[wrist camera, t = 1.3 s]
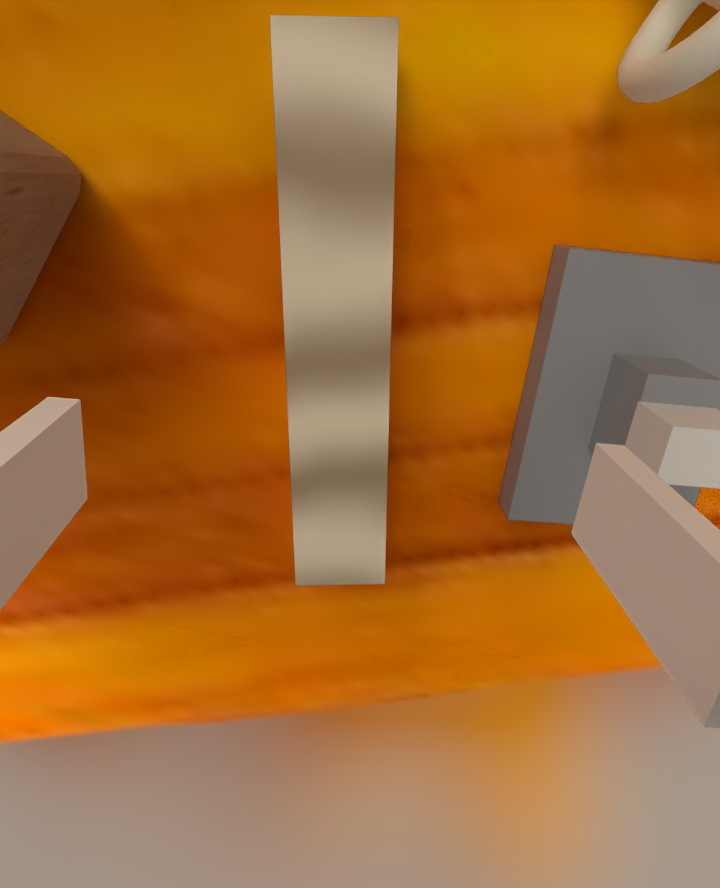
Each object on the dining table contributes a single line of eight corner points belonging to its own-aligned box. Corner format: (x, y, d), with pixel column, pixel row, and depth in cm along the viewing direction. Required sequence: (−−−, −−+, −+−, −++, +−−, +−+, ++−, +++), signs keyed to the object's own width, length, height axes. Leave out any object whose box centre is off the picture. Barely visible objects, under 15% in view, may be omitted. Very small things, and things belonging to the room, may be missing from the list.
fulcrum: (554, 244, 29) (635, 266, 21) (751, 265, 30) (899, 295, 22) (498, 501, 35) (547, 594, 27) (666, 514, 35) (761, 607, 28)
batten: (280, 44, 26) (269, 15, 21) (386, 46, 26) (399, 17, 21) (300, 533, 35) (295, 585, 31) (377, 531, 36) (384, 583, 31)
